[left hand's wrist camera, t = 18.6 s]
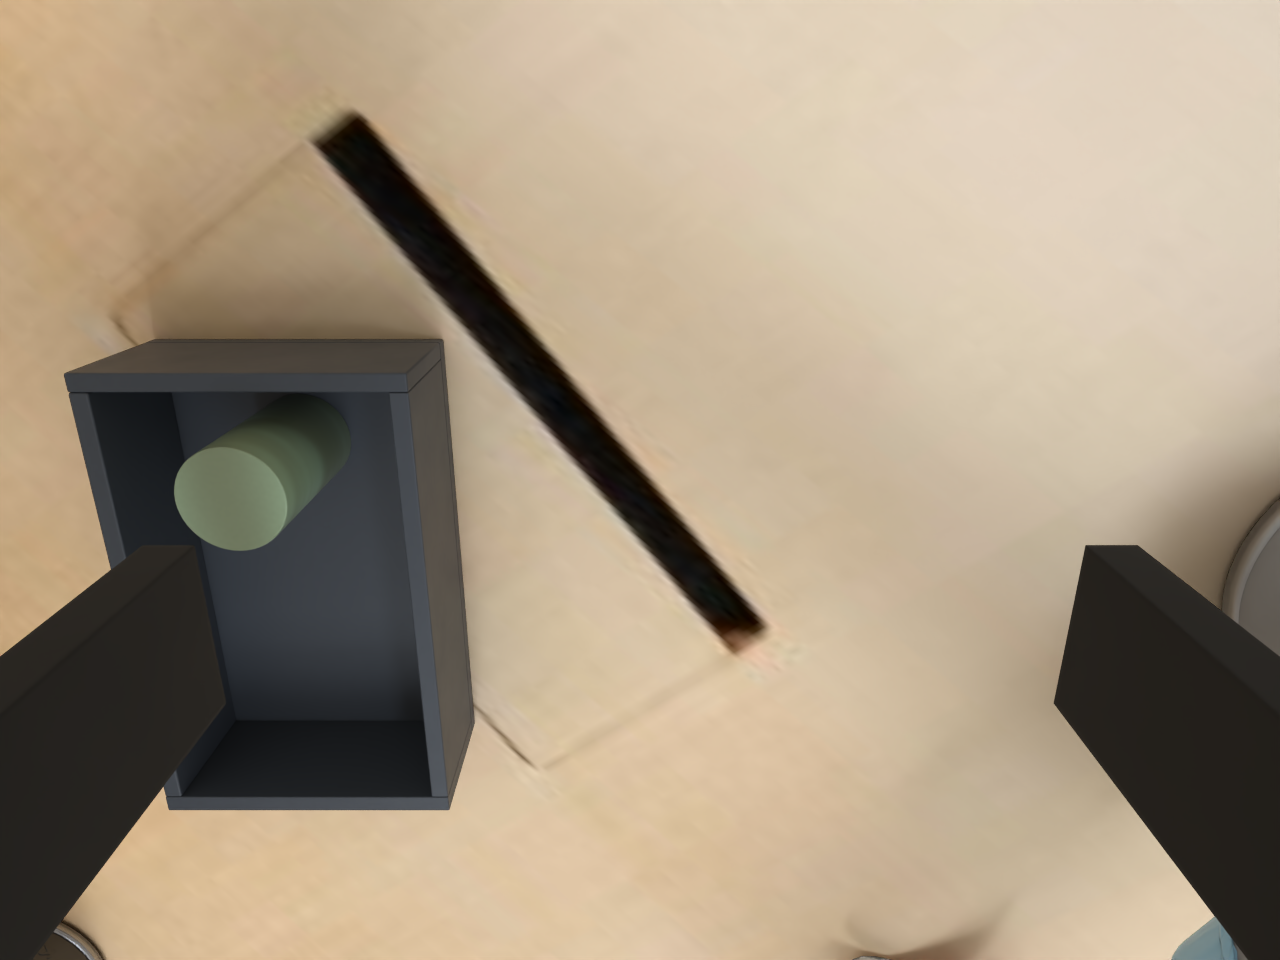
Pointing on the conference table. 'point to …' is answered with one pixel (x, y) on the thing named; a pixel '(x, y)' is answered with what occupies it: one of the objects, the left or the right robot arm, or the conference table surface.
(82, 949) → the right robot arm
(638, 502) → the conference table surface
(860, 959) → the fish
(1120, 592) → the left robot arm
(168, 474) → the bin
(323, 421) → the peg
